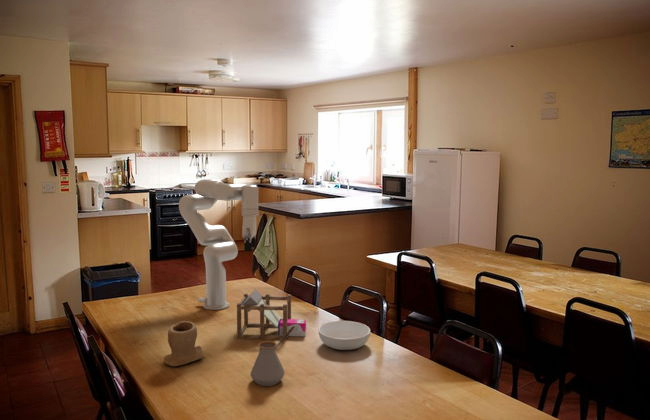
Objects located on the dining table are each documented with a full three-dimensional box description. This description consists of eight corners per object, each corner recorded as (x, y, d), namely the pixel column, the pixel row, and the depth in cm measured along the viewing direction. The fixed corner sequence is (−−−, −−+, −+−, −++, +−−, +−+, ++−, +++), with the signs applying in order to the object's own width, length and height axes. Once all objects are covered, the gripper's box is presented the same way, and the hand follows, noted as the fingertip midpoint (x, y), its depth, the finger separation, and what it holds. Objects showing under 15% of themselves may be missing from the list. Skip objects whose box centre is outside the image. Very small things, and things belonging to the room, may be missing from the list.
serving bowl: (309, 351, 207) (309, 333, 206) (329, 333, 226) (329, 318, 226) (360, 359, 199) (360, 341, 199) (376, 340, 219) (377, 324, 218)
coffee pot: (270, 391, 172) (269, 347, 171) (243, 383, 179) (242, 340, 177) (307, 369, 190) (308, 328, 188) (282, 362, 196) (282, 322, 194)
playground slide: (241, 305, 220) (250, 296, 219) (247, 297, 233) (255, 288, 232) (270, 333, 221) (279, 324, 220) (275, 323, 233) (283, 315, 233)
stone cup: (173, 372, 187) (172, 331, 185) (159, 361, 196) (158, 322, 194) (212, 361, 196) (211, 322, 194) (197, 352, 205) (196, 314, 203)
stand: (237, 338, 220) (236, 304, 218) (244, 325, 236) (244, 293, 234) (286, 339, 219) (286, 305, 217) (291, 326, 235) (291, 294, 233)
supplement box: (279, 331, 229) (306, 332, 228) (277, 336, 223) (305, 337, 222) (280, 318, 228) (306, 319, 227) (278, 322, 222) (305, 323, 221)
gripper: (245, 209, 250) (245, 245, 253) (237, 214, 233) (238, 252, 235) (261, 210, 250) (261, 245, 252) (254, 214, 233) (254, 253, 235)
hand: (250, 249), depth 244 cm, fingers open, 9 cm apart
